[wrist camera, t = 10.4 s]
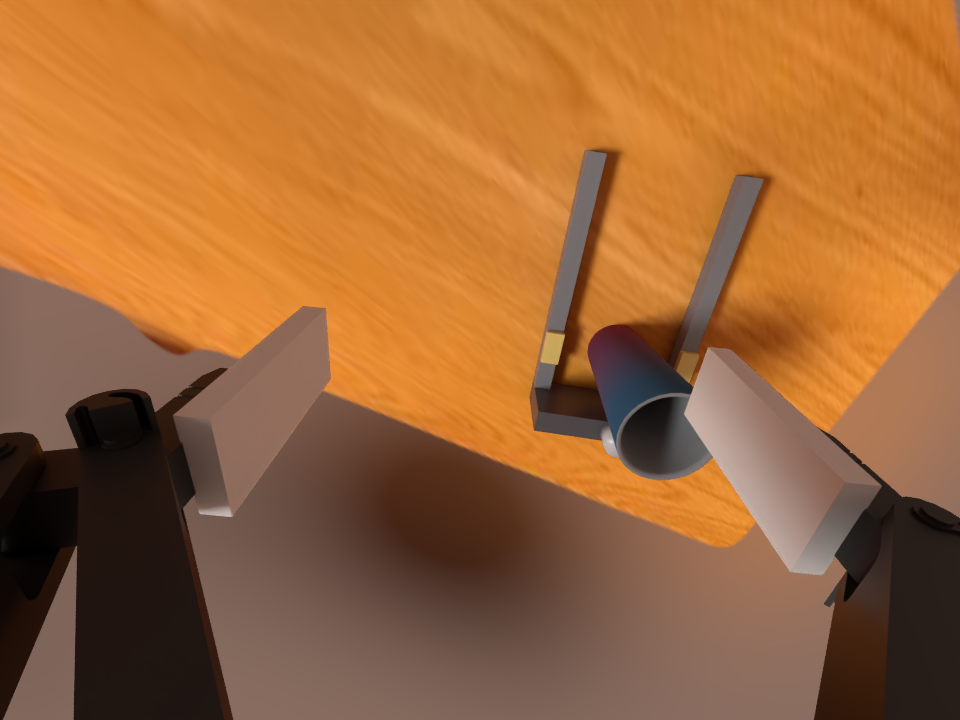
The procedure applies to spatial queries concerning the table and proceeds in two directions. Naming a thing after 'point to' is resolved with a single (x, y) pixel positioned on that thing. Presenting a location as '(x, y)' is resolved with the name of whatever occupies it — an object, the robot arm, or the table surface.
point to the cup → (645, 406)
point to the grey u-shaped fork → (554, 402)
